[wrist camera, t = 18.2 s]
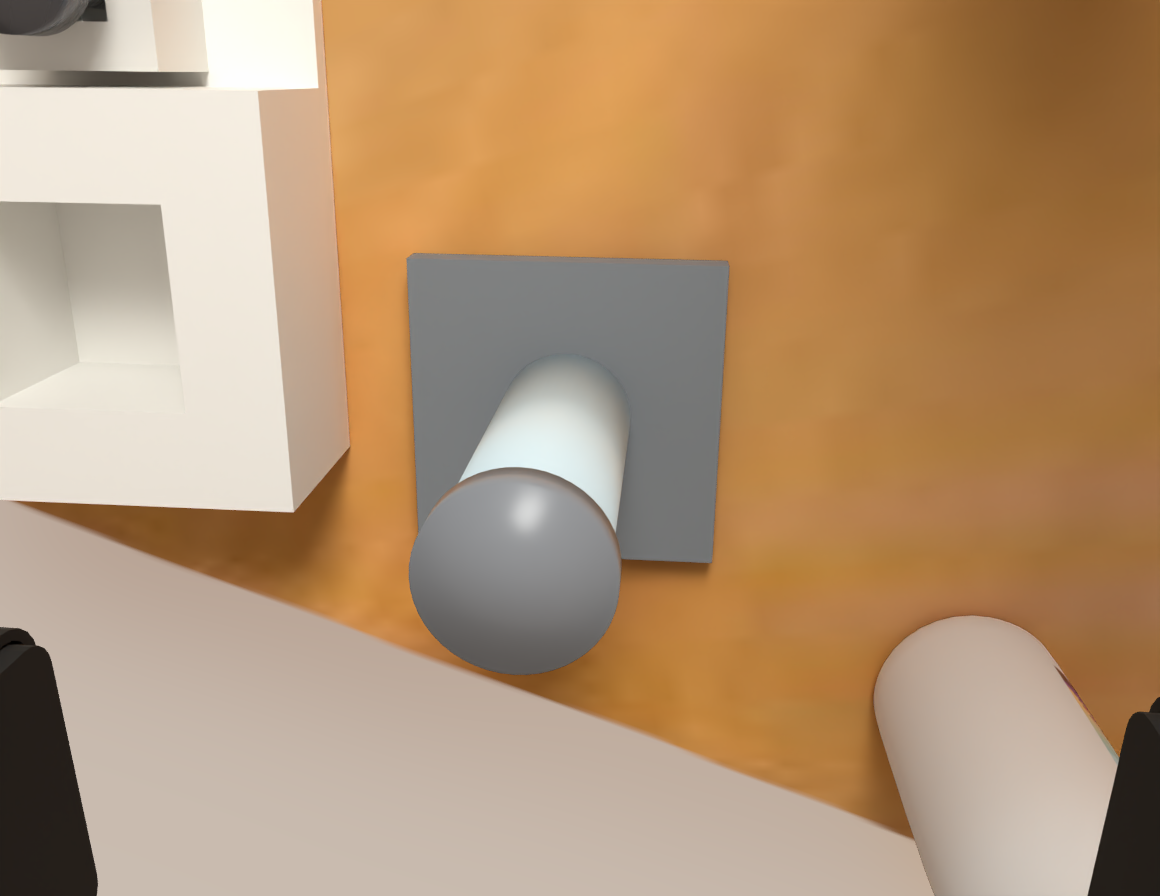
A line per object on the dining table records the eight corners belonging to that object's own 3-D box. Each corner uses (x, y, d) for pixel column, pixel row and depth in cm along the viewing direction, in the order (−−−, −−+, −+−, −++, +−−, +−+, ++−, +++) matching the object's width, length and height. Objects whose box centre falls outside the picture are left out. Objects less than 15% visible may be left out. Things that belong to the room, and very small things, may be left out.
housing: (-71, -110, 38) (-226, -149, 31) (314, -111, 37) (237, -150, 30) (24, 434, 45) (-88, 496, 38) (350, 446, 44) (293, 512, 37)
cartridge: (469, 437, 42) (373, 608, 29) (540, 319, 40) (471, 444, 27) (590, 508, 42) (551, 709, 29) (665, 394, 41) (660, 554, 27)
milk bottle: (840, 729, 46) (957, 1177, 28) (920, 582, 44) (1110, 966, 25) (1001, 789, 47) (1226, 1270, 28) (1091, 647, 44) (1404, 1072, 25)
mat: (414, 253, 41) (406, 258, 40) (727, 260, 40) (729, 266, 39) (425, 538, 45) (419, 550, 44) (710, 550, 44) (712, 563, 43)
